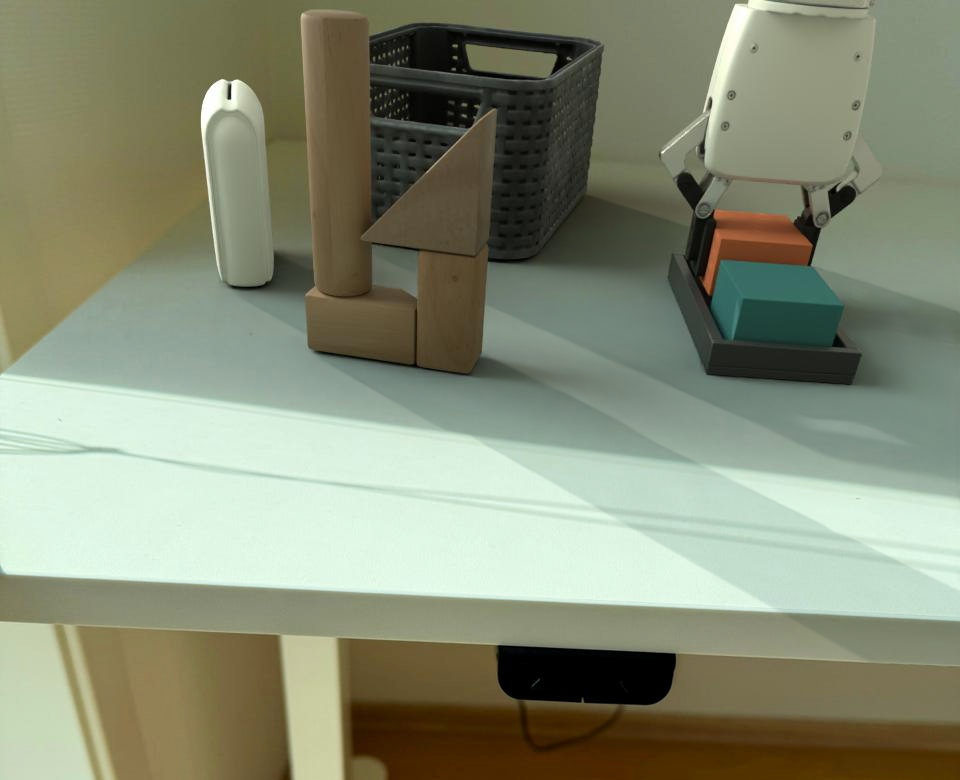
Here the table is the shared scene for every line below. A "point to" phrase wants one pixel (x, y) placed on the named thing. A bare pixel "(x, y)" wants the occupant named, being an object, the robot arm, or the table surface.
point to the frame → (750, 355)
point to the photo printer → (238, 183)
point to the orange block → (754, 242)
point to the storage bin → (519, 125)
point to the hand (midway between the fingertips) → (744, 272)
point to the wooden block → (389, 219)
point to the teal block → (774, 304)
